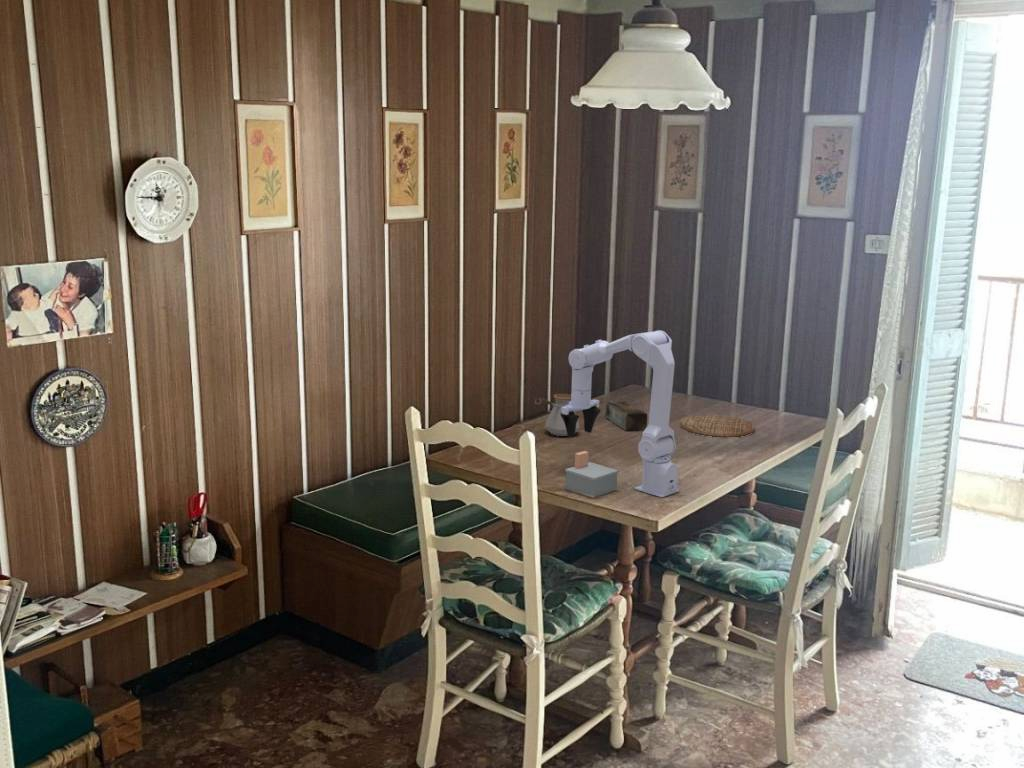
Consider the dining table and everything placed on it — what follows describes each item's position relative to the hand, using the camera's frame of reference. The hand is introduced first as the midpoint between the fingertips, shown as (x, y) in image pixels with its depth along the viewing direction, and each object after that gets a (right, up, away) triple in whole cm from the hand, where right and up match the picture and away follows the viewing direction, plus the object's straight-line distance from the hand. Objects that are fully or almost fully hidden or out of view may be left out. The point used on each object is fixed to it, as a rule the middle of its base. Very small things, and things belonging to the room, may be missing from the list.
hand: (579, 434), depth 296 cm
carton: (+2, -14, -18) cm, 23 cm away
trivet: (+50, -1, +50) cm, 71 cm away
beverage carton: (+19, +1, +52) cm, 56 cm away
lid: (+2, -9, -19) cm, 21 cm away
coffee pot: (-6, -3, +34) cm, 35 cm away
